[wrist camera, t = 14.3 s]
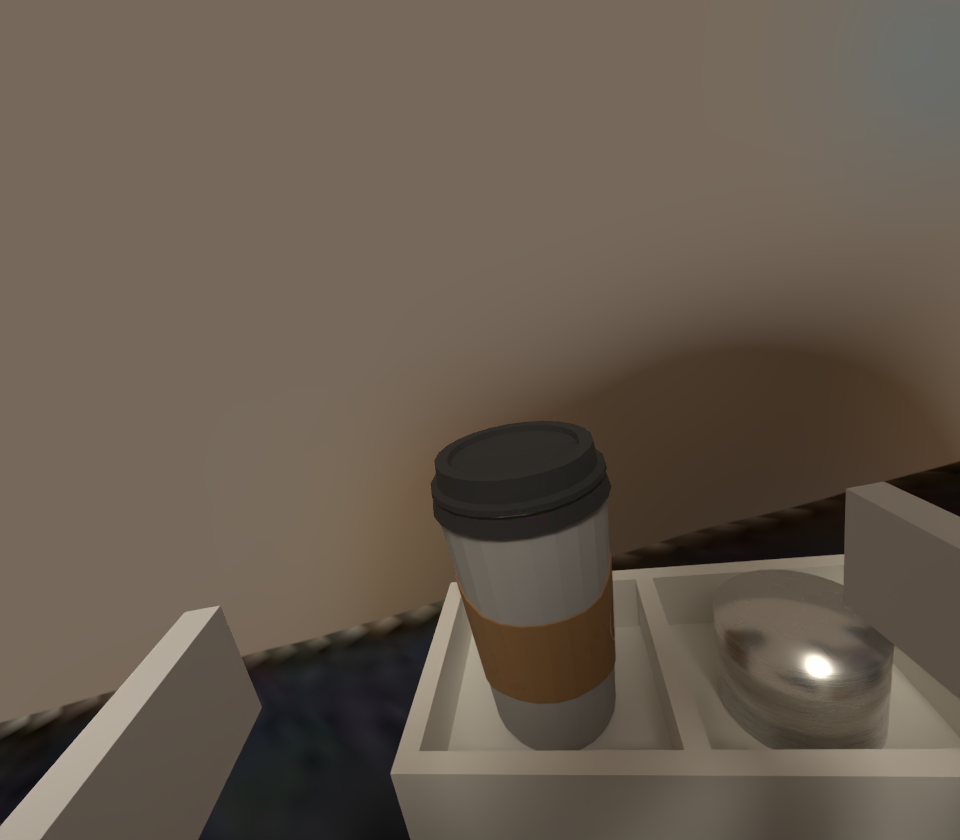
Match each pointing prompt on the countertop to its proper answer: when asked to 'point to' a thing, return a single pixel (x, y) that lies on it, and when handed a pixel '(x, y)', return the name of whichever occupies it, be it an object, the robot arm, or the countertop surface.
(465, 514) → the coffee cup
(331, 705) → the countertop surface
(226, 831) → the countertop surface
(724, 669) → the metal tin
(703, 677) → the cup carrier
